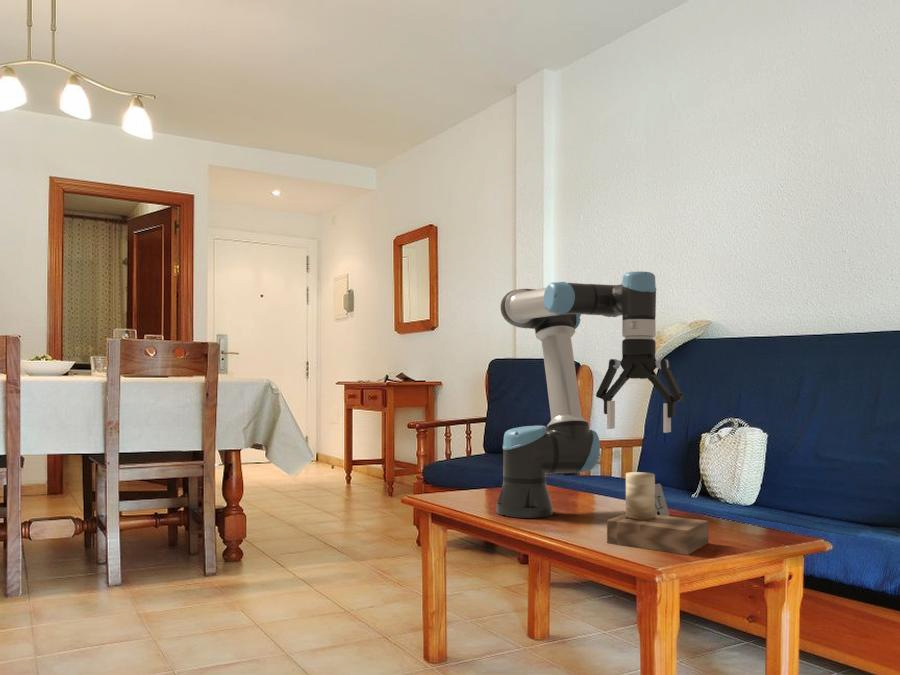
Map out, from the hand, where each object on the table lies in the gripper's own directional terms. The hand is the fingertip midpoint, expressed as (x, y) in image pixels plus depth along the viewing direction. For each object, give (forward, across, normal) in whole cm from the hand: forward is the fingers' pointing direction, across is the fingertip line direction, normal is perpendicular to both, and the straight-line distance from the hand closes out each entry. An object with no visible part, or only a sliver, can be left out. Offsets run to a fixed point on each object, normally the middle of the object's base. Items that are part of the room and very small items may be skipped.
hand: (638, 430), depth 170 cm
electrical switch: (+25, -6, +24) cm, 35 cm away
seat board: (+25, +6, -2) cm, 25 cm away
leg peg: (+24, +2, -2) cm, 24 cm away
